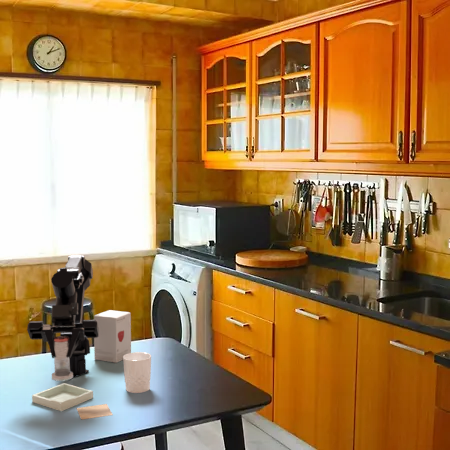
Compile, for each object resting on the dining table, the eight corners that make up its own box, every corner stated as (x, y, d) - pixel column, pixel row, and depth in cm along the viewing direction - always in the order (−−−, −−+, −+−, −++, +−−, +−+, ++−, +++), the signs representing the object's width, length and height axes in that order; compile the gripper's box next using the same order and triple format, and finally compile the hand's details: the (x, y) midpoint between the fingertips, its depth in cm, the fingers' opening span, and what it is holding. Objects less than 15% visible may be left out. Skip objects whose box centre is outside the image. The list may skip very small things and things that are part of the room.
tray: (32, 403, 177) (32, 395, 177) (64, 391, 187) (64, 383, 187) (61, 412, 171) (61, 404, 171) (93, 399, 180) (93, 391, 180)
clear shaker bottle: (48, 376, 179) (47, 337, 177) (67, 372, 182) (66, 333, 181) (57, 382, 174) (56, 342, 173) (76, 377, 178) (75, 338, 177)
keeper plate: (76, 410, 173) (76, 408, 173) (106, 405, 176) (106, 403, 176) (81, 421, 166) (81, 419, 166) (112, 416, 169) (112, 414, 169)
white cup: (129, 397, 182) (128, 362, 181) (120, 388, 189) (119, 354, 188) (155, 392, 186) (155, 358, 185) (145, 383, 193) (145, 350, 192)
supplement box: (116, 363, 211) (115, 318, 210) (93, 359, 215) (92, 315, 214) (132, 355, 220) (131, 312, 218) (110, 352, 223) (109, 309, 222)
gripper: (27, 292, 179) (20, 344, 169) (96, 291, 181) (93, 342, 171) (33, 313, 187) (27, 363, 178) (99, 312, 189) (97, 361, 180)
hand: (61, 357), depth 176 cm, fingers closed on clear shaker bottle, 4 cm apart
